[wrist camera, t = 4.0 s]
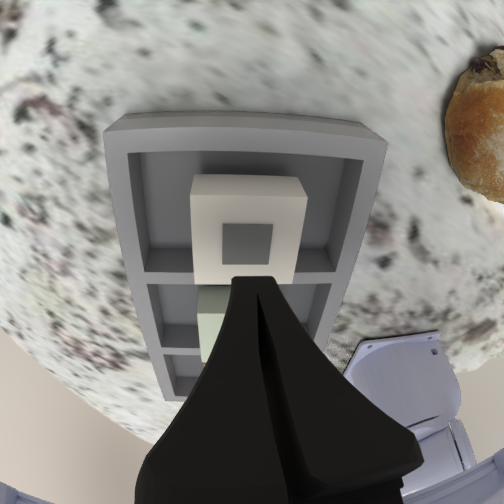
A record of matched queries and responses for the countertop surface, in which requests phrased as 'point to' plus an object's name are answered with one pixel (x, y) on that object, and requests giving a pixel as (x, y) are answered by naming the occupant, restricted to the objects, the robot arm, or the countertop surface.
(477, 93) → the bread roll
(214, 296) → the key sage
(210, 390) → the robot arm
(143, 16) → the countertop surface
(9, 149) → the countertop surface
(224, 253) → the key offwhite
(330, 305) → the grey compartment tray
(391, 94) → the countertop surface
